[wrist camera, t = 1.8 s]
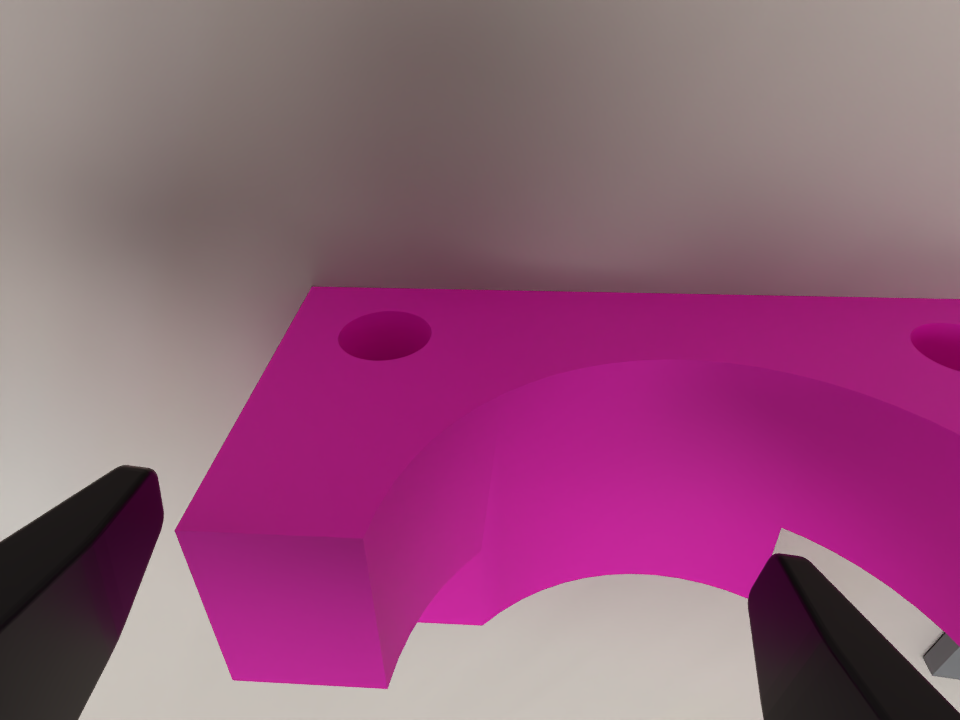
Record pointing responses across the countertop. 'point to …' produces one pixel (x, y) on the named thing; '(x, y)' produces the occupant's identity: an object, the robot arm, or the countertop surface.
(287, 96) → the countertop surface
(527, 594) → the magenta arched bracket
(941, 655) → the mat
